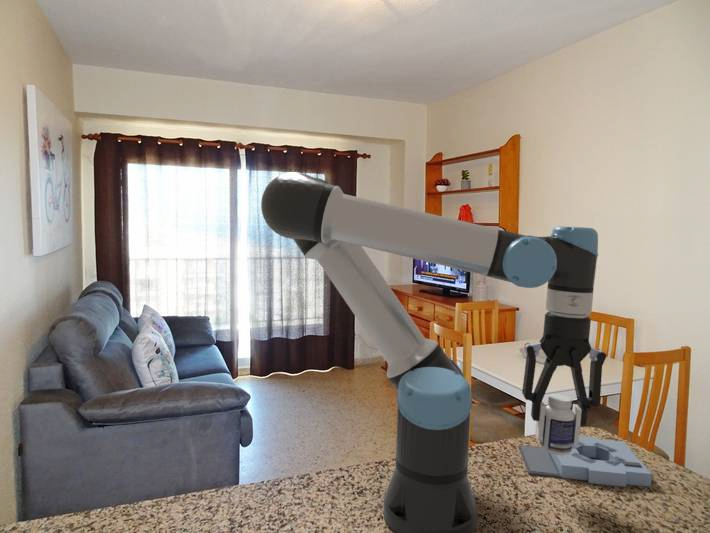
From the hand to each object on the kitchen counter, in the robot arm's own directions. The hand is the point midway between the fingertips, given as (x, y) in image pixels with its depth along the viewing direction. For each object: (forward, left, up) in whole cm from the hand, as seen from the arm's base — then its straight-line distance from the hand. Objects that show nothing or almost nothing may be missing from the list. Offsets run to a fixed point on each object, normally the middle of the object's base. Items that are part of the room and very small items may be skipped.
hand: (556, 439), depth 89 cm
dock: (+11, +12, -10) cm, 19 cm away
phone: (0, +11, -10) cm, 15 cm away
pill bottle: (0, 0, -2) cm, 2 cm away
